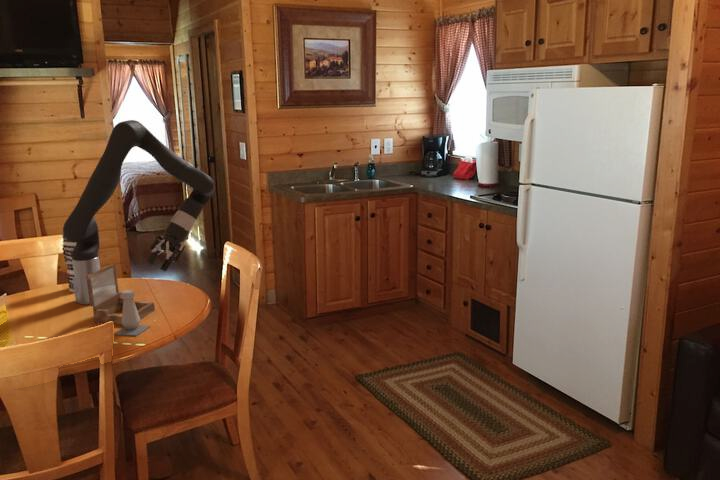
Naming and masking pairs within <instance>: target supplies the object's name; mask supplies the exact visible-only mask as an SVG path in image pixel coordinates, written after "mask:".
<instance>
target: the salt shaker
mask: <svg viewBox="0 0 720 480" xmlns="http://www.w3.org/2000/svg"><path fill="white" fill-rule="evenodd" d="M120 293H121V298H122V299H123V309H122V312H121V315H122V324H123V325H122V326H123V328H124V327H125V329H127V330H132V329H136V328H137V327H138V326H139V325H140V322H141V320H140V317H139V314H138V310H137V308H136V305H135V302H134V301H135V299H134V298H135V291H134V290H133V289H126V290H123V291H121V292H120Z"/></svg>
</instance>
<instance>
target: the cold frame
mask: <svg viewBox="0 0 720 480" xmlns="http://www.w3.org/2000/svg"><path fill="white" fill-rule="evenodd" d="M86 278H87V285H88V292H89V299H90V304H89V305H90V307H92V309H93V318H94V323H98V324H107V323H106V322H109V321H113V322H114V324H113V325H121V326H123V324H122V314H115V313H117V312H119V311H121V310H123V299H122V298H121V293H122V292H120V291H119V285H118V283H119V282H118V275H117V268H116V263H111V264H109V265H107V266H104V267H103V268H100V270H98V271H96V272H94V273H92V274H89V275H87V276H86ZM134 302H135V305H136V308H137V311H138V314H139V317H140V321H141V320H142V319H144V318H145V317H147V316H148V315H150V314H151V313H154V312H155V310H156V309H155V302H152V301H136V300H134Z"/></svg>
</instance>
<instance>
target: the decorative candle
mask: <svg viewBox="0 0 720 480" xmlns="http://www.w3.org/2000/svg"><path fill="white" fill-rule="evenodd" d="M61 235H62V249H61V250H62V252H63V253H62V254H63V255H64V256H63V259H64V263H65V264H66V267H67V269H66V270H67V271H66V272H67V273H66V276H67V280H68V282H67V284H68V288H69V289H68V290H69V292H72V293H75V292H74V285H73V278H75V276H74V269H73V262H72V256H71V253H72V251H73V249H74V248H75V246H76V243H73V242H70V241H68V240H67V239H66V238H65V236H64V234H63V232H62V233H61Z"/></svg>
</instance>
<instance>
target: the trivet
mask: <svg viewBox="0 0 720 480" xmlns="http://www.w3.org/2000/svg"><path fill="white" fill-rule="evenodd" d="M149 328H151V325H142V324H139V326H138V327H137V328H136V329H132V330H127V329H125V327H124V326H123V327H122V328H121V329H119V330H118V331H117V332H114V335H115V336H124V337H136V338H137V337H138V336H140V335H141V334H143V333H144V332H146V331H147V330H148V329H149Z"/></svg>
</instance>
